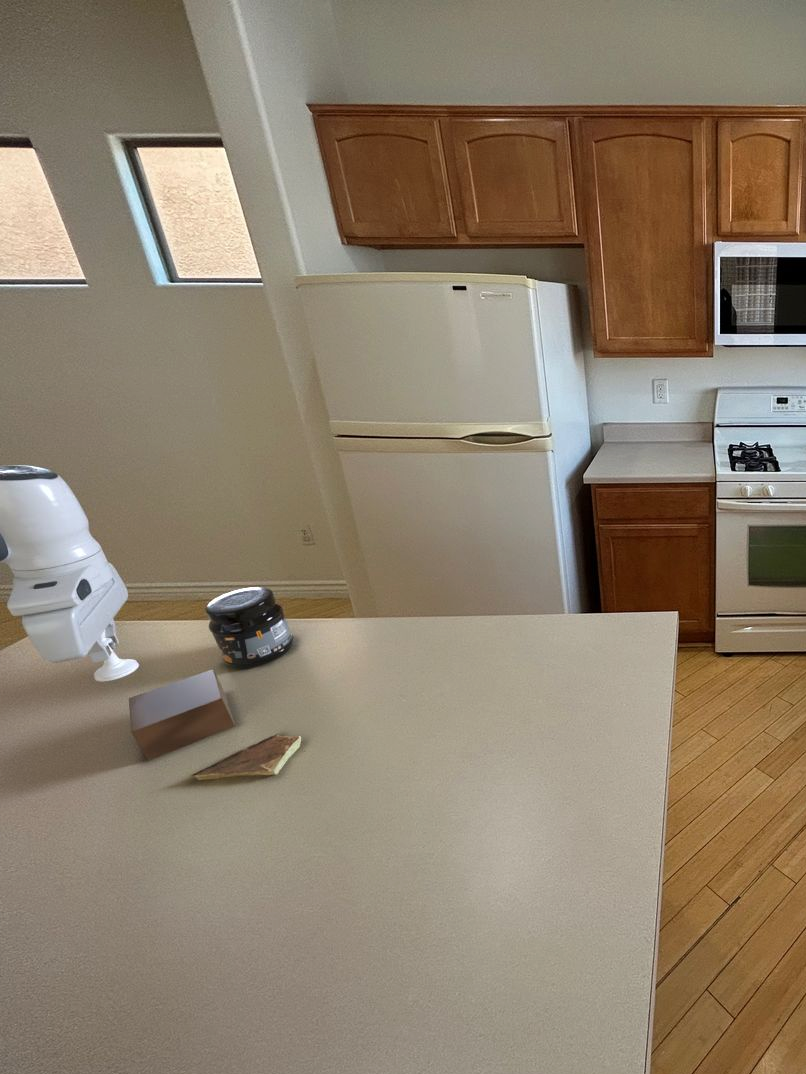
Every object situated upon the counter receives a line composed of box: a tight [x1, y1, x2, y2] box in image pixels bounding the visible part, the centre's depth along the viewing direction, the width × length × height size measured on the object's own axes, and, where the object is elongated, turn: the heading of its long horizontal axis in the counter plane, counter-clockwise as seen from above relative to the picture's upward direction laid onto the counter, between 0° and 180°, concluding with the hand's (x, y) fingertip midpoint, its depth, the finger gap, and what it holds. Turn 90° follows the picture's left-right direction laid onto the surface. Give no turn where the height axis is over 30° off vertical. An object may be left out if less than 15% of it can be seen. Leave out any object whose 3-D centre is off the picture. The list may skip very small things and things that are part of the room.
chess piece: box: [93, 630, 140, 682], centre depth 85 cm, size 5×5×10 cm
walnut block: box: [128, 668, 236, 762], centre depth 86 cm, size 10×10×6 cm
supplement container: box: [204, 586, 295, 670], centre depth 102 cm, size 10×10×12 cm
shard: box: [190, 733, 302, 781], centre depth 81 cm, size 11×8×2 cm
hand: (107, 653), depth 86 cm, fingers closed on chess piece
